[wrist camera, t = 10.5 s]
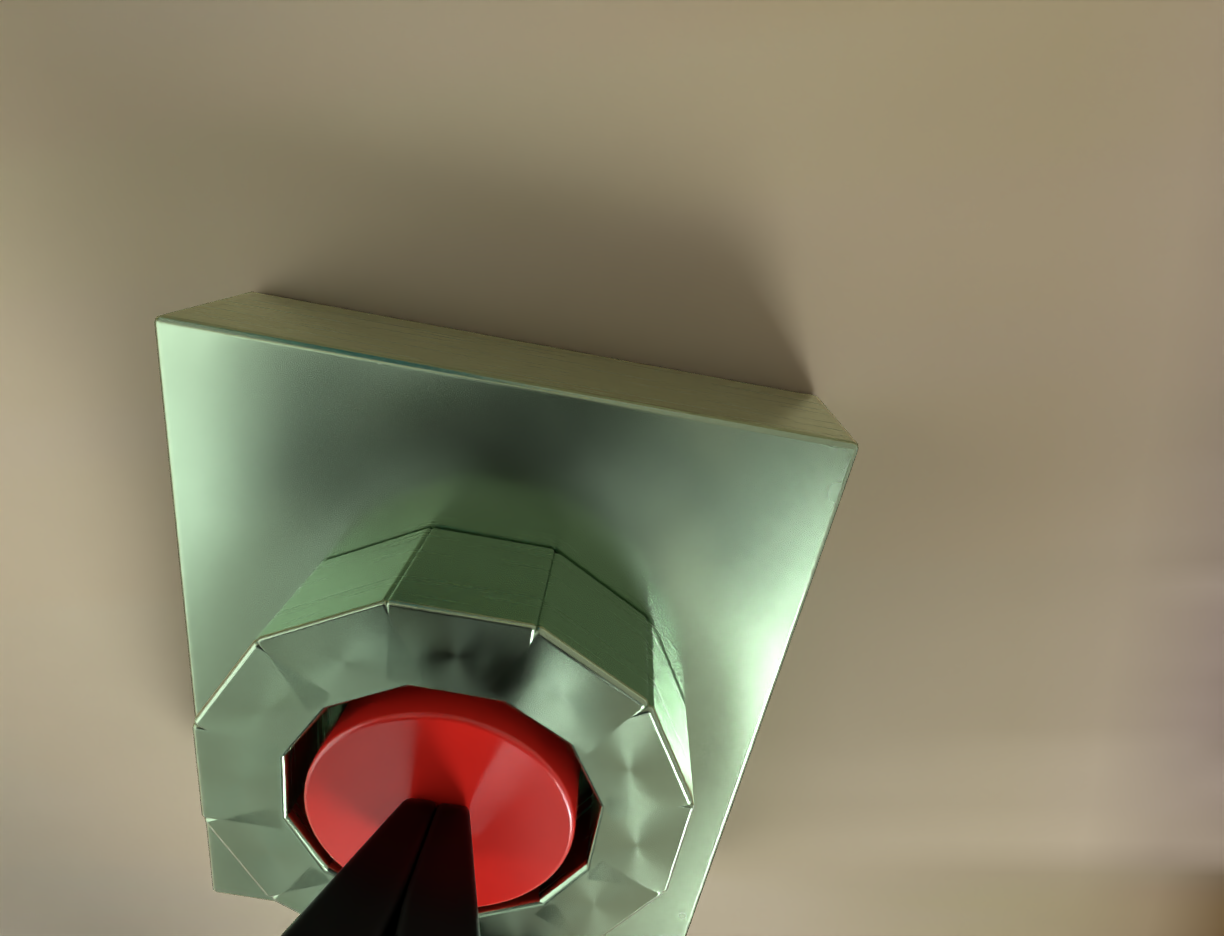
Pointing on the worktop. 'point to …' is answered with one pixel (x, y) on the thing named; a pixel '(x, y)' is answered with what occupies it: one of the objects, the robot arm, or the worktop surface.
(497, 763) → the power button
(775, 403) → the box
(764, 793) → the worktop surface
